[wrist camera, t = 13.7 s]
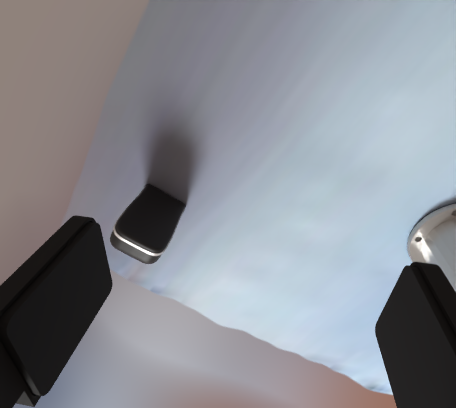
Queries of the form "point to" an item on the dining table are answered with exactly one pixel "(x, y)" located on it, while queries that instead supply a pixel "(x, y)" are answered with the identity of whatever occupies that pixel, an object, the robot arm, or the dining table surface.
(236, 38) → the dining table surface
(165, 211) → the battery charger
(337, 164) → the dining table surface
